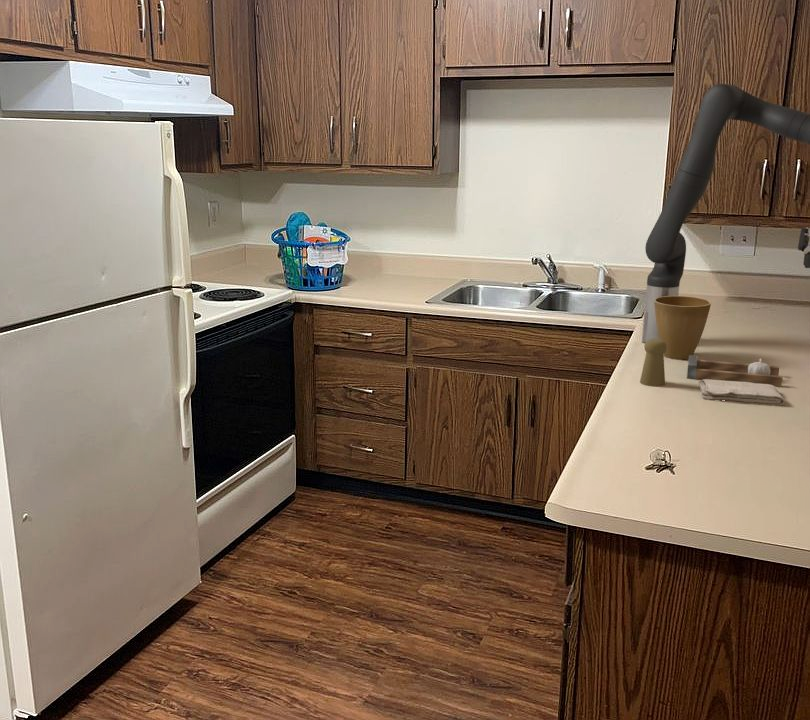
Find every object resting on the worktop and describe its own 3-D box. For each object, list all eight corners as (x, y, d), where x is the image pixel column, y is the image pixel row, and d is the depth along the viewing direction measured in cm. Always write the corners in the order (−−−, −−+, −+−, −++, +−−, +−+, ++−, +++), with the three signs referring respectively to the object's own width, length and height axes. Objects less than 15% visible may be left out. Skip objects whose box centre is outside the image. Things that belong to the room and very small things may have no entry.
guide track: (686, 378, 207) (688, 365, 207) (687, 367, 218) (688, 354, 217) (781, 387, 200) (783, 373, 199) (777, 375, 211) (779, 362, 210)
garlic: (752, 375, 211) (755, 355, 210) (773, 379, 207) (776, 359, 206) (742, 379, 207) (744, 359, 206) (763, 384, 203) (765, 363, 202)
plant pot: (649, 348, 238) (653, 294, 234) (703, 352, 234) (708, 297, 230) (650, 361, 224) (655, 303, 220) (707, 365, 220) (713, 306, 216)
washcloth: (696, 388, 201) (698, 376, 200) (775, 393, 197) (776, 381, 196) (701, 402, 190) (702, 389, 189) (784, 408, 186) (786, 395, 185)
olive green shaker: (634, 380, 205) (638, 338, 202) (654, 378, 207) (658, 336, 204) (649, 387, 200) (653, 343, 197) (670, 385, 202) (674, 341, 199)
